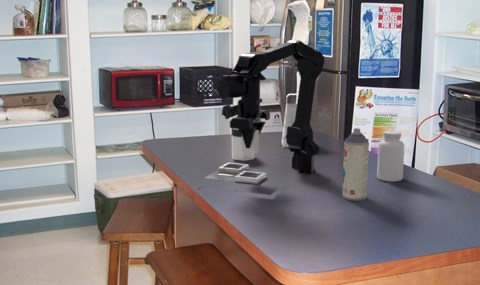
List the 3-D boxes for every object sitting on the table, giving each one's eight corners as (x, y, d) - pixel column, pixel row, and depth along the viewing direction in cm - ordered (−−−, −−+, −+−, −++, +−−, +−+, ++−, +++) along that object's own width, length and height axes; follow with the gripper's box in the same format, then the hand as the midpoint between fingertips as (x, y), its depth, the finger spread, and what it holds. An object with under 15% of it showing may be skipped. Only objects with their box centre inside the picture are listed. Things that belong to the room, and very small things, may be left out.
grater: (309, 147, 243) (311, 96, 239) (282, 147, 243) (283, 96, 239) (307, 141, 253) (308, 92, 249) (281, 141, 253) (282, 92, 249)
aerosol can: (345, 193, 183) (347, 125, 178) (368, 195, 180) (371, 127, 176) (339, 199, 176) (342, 130, 172) (363, 202, 174) (366, 131, 170)
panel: (275, 175, 203) (275, 166, 202) (258, 188, 188) (258, 179, 188) (224, 169, 209) (224, 162, 209) (204, 181, 195) (203, 173, 194)
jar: (239, 164, 216) (238, 130, 213) (226, 160, 222) (226, 127, 220) (260, 161, 221) (260, 128, 218) (247, 156, 227) (247, 124, 225)
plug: (258, 152, 192) (258, 128, 191) (254, 155, 189) (254, 130, 187) (246, 151, 194) (246, 127, 192) (241, 154, 190) (241, 129, 189)
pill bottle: (404, 177, 200) (407, 131, 196) (399, 183, 192) (402, 135, 189) (379, 174, 203) (382, 129, 200) (374, 180, 196) (376, 133, 193)
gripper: (237, 90, 199) (237, 138, 202) (213, 98, 182) (213, 151, 185) (270, 92, 195) (270, 141, 198) (248, 100, 178) (248, 154, 181)
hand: (250, 146), depth 191 cm, fingers closed on plug, 4 cm apart
